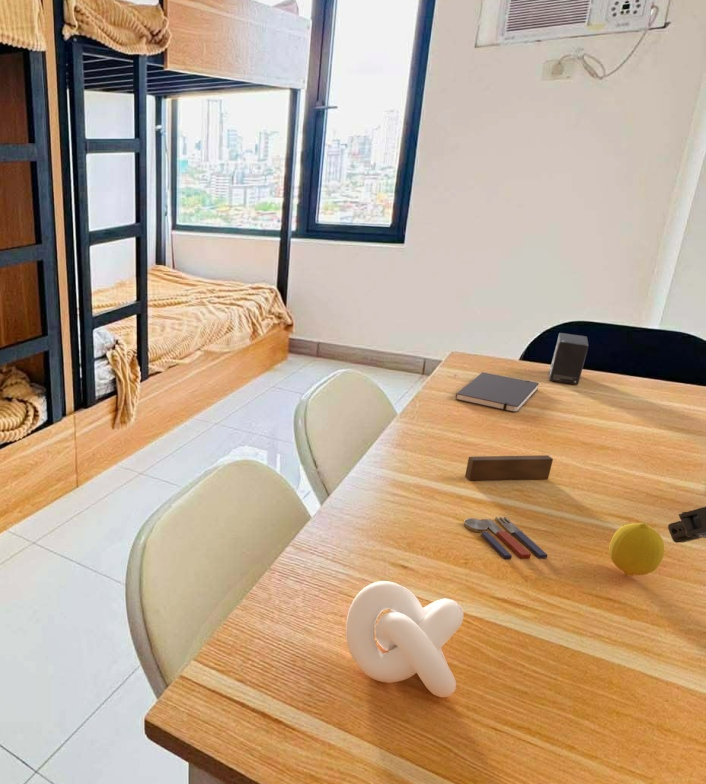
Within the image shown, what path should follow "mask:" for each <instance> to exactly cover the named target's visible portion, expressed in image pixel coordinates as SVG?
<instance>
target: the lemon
mask: <svg viewBox="0 0 706 784" xmlns="http://www.w3.org/2000/svg"><path fill="white" fill-rule="evenodd" d="M608 554H609V558H610V560H611V562H612V563H613V565H614V566H616V567H617V568H618V569H619V570H621V571H622V572H623V573H624V574H625V575H626V576H628V577H629V576H630V577H631V576H632V577H633V576H645V575H648V574H651V573H653V572H655V570H657V569H658V568H659V566H660V565H661V563H662V561H663V559H664V555H665V543H664V539H663V538H662V536H661V535H660V533H659V532H658V531H656V529H654V528H653V527H651V526H649V524H647V523H646V522H640V523H639V522H638V523H637V522H633V523H627V524H624V525H623V526H621V527H618V529H616V530H615V532H614V534H613V535H612V537H611V539H610V542H609V546H608Z"/></svg>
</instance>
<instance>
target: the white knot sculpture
mask: <svg viewBox="0 0 706 784" xmlns="http://www.w3.org/2000/svg"><path fill="white" fill-rule="evenodd" d="M386 610H390V611H388V612H386V613H383V612H384V611H386ZM381 613H383V614H382V615H381ZM380 615H381V616H380ZM379 616H380V617H379ZM464 616H465V613H464V611H463V608H462V606H461V605H460V604H459V603H458V602H457V601H455V600H454V599H451V598H441V599H437V600H435V601H432V602H431V603H429V604H427V605H426V606H424V607H423V605H422V603H421V602H420V600H419V599H418V598H417V597H416V595H415V594H414V593H413V592H411V590H409V589H408V588H407V587H404V586H403V585H400V584H398V583H396V582H393V581H389V580H388V581H387V580H385V581H383V580H381V581H375V582H371V583H370V584H367V586H365V587H363V588H362V589H361V590H360V591H359V592H358V593H357V595H356V596H355V597H354V599H353V600H352V602H351V604H350V606H349V608H348V612H347V617H346V621H345V638H346V645H347V648H348V651H349V654H350V656H351V658H352V660H353V662H354V663H355V664H356V665H357V667H358V668H359V670H360V671H361V672H362V673H364V674H365V675H366V676H367V677H369V678H371V679H372V680H374V681H377V682H380V683H387V684H388V683H389V684H390V683H398V682H402V681H405V680H407V679H410V678H411V677H413V676H415V675H416V674H417V675H418V677H419V678H420V680H421V682H422V683H423V685H424V686H425V688H426V689H427V690H428V691H429V692H430V693H431V694H432V695H433V696H436V697H439V698H442V699H443V698H446V697H451V696H452V695H453V693H454V692H455V691H456V689H457V681H456V678H455V676H454V674H453V672H452V670H451V668H450V666H449V665H448V661H447V659H446V658H445V655H444V652H443V650H442V648H443V647H444V645H446V643H447V642H448V641H450V639H451V638H452V637H453V636H454V635H455V634H456V632H457V631H458V630H459V629H460V627H461V626H462V624H463V622H464ZM378 618H379V619H378ZM377 644H378V645H379V647H381V649H382V650H383V651H385V652H382V651H381V650H380V649H379V648H378V645H377Z"/></svg>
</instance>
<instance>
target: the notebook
mask: <svg viewBox="0 0 706 784" xmlns="http://www.w3.org/2000/svg"><path fill="white" fill-rule="evenodd" d="M539 384H540V383H539V382H537V381H532V380H527V379H521V378H515V377H511V376H504V375H499V374H495V373H488V372H485V371H482V372H481V373H479V374H478V375H477V376H476V377H475V378H474V379H472V380H471V381H470V382H468V383H467V384H466V385H465V386H464V387H462V388H461V389H460V390H459V391H457V392H456V394H455V400H456V401H461V402H465V403H469V404H474V405H479V406H483V407H486V408H487V407H489V408H492V409H497V410H502V411H506V412H510V413H518V412H519V411H520V410H521V408H522V407H523V406H524V405H525V404H526V403H527V402H528V401H529V400H530V398H531V397H532V396H533V395H535V393H536V392H537V391H538V390H539V389H538V386H539Z"/></svg>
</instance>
